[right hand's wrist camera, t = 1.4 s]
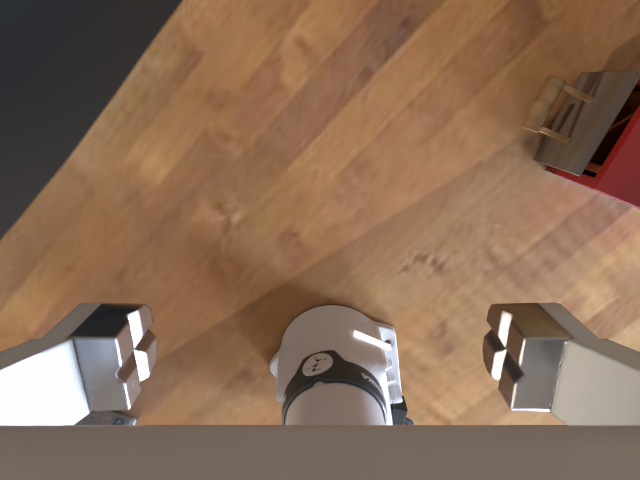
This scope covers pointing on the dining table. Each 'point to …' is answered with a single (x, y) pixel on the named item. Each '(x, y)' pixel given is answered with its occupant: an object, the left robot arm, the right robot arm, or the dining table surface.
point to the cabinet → (616, 167)
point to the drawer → (584, 119)
